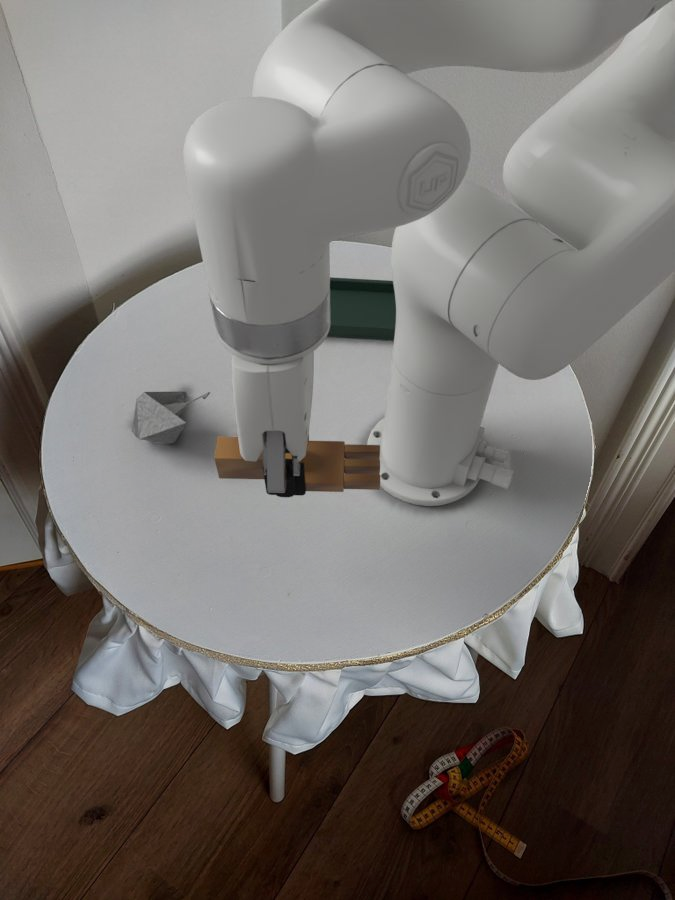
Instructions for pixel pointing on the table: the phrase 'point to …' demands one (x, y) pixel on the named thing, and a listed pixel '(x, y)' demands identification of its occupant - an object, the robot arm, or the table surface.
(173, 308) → the table surface
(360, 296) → the tray
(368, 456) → the fork
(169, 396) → the grey angular piece
